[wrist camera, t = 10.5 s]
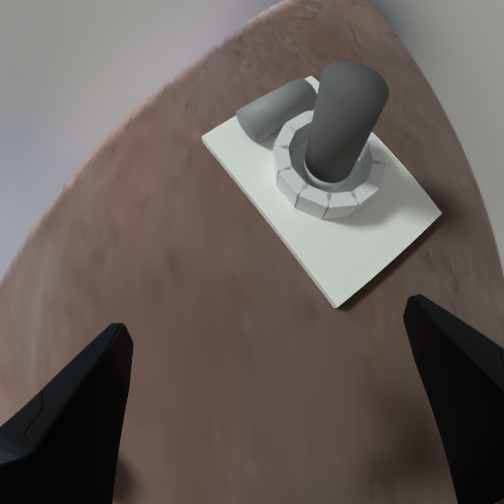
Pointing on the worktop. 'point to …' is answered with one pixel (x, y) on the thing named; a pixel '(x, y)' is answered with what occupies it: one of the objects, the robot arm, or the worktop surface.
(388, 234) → the white socket base plate
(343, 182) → the crank handle
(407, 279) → the worktop surface
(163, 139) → the worktop surface
